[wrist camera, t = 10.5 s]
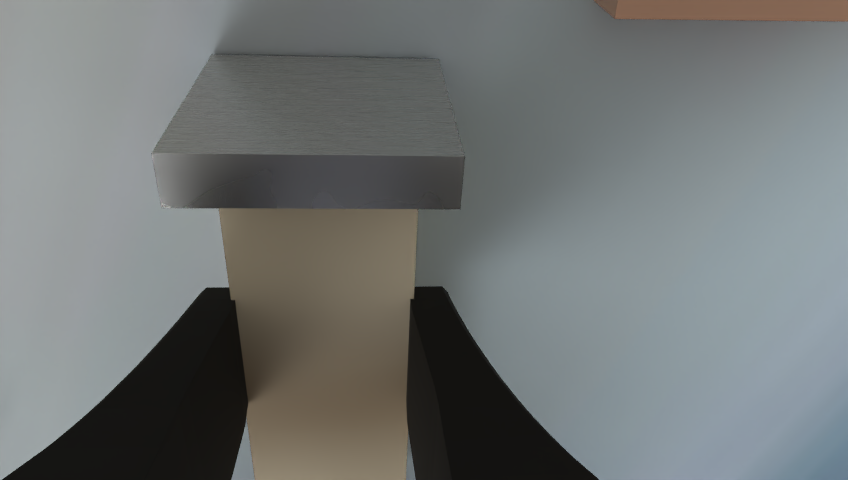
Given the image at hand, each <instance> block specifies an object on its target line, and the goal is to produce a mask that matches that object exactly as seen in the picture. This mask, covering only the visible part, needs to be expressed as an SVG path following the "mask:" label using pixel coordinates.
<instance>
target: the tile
mask: <svg viewBox="0 0 848 480" xmlns="http://www.w3.org/2000/svg"><path fill="white" fill-rule="evenodd" d="M594 1H595V2H596V3H597V4H598V5H599V6H600V7H602V8H603V9H604V10H605V11H606V12H607V13H609V14H610V15H611V16H612V17H613V18H614V19H667V20H761V21H848V0H594Z"/></svg>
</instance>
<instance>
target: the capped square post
mask: <svg viewBox="0 0 848 480" xmlns="http://www.w3.org/2000/svg"><path fill="white" fill-rule="evenodd" d="M152 159H153V164H154V170H155V175H156V180H157V186H158V191H159V197H160V202H161V208H219V214H220V222H221V229H222V237H223V244H224V252H225V259H226V267H227V274H228V282H229V289H230V297H231V300H235V304H236V312H237V319H238V327H239V335H240V342H241V350H242V358H243V366H244V373H245V381H246V389H247V397H248V409H247V416H246V417H247V424H248V432H249V439H250V447H251V454H252V462H253V469H254V477H255V480H406V464H407V442H408V424H407V408H406V392H407V368H408V344H409V320H410V299H414V288H415V266H416V244H417V222H418V209H460V208H461V196H462V184H463V172H464V160H465V155H464V152H463V148H462V144H461V141H460V137H459V133H458V129H457V126H456V122H455V118H454V114H453V111H452V107H451V103H450V99H449V96H448V92H447V88H446V85H445V81H444V77H443V73H442V70H441V66H440V62H439V59H401V58H355V57H310V56H264V55H218V54H212V55H211V56H210V58H209V60H208V61H207V63H206V65H205V66H204V68H203V69H202V71H201V73H200V74H199V76H198V78H197V79H196V81H195V83H194V84H193V86H192V88H191V89H190V91H189V92H188V94H187V96H186V97H185V99H184V101H183V102H182V104H181V106H180V107H179V109H178V111H177V112H176V114H175V115H174V117H173V119H172V120H171V122H170V124H169V125H168V127H167V129H166V130H165V132H164V134H163V135H162V137H161V138H160V140H159V142H158V143H157V145H156V147H155V148H154V150H153V152H152Z"/></svg>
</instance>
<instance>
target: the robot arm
mask: <svg viewBox="0 0 848 480" xmlns="http://www.w3.org/2000/svg"><path fill="white" fill-rule="evenodd" d="M406 408H407V424H408V431H409V437H410V444H411V451H412V457H413V464H414V470H415V477H416V480H599V479H598V478H597V477H595V476H594V475H593V474H592V473H591V472H590V471H588V470H587V469H586V468H585V467H584V466H583V465H581V464H580V463H579V462H578V461H577V460H576V459H575V458H573V457H572V456H571V455H570V454H569V453H568V452H567V451H566V450H565V449H564V448H563V447H562V446H561V445H560V444H559V443H558V442H557V441H556V440H555V439H554V438H553V437H552V436H551V435H550V434H549V433H548V432H547V431H546V430H545V429H544V428H543V427H542V426H541V425H540V424H539V423H538V422H537V420H536V419H535V418H534V417H533V416H532V415H531V414H530V413H529V412H528V411H527V409H526V408H525V407H524V406H523V405H522V404H521V402H520V401H519V400H518V399H517V398H516V396H515V395H514V394H513V393H512V391H511V390H510V389H509V388H508V386H507V385H506V384H505V383H504V381H503V380H502V379H501V377H500V376H499V375H498V373H497V372H496V371H495V369H494V368H493V367H492V365H491V364H490V362H489V361H488V359H487V358H486V357H485V355H484V354H483V352H482V351H481V349H480V348H479V346H478V345H477V343H476V342H475V340H474V339H473V337H472V336H471V334H470V332H469V331H468V329H467V328H466V326H465V324H464V323H463V321H462V319H461V317H460V316H459V314H458V312H457V310H456V308H455V306H454V304H453V302H452V300H451V298H450V296H449V294H448V292H447V291H446V290H445V289H444V288H443V287H442V286H440V287H415V288H414V299H410V320H409V344H408V368H407V392H406ZM247 409H248V397H247V389H246V381H245V373H244V366H243V358H242V350H241V342H240V335H239V327H238V319H237V312H236V304H235V300H231V297H230V289H229V288H206V289H205V290H204V291H202V292H201V293H200V295H199V296H198V297H197V298H196V299H195V301H194V302H193V303H192V304H191V305H190V307H189V308H188V309H187V310H186V311H185V313H184V314H183V315H182V316H181V317H180V318H179V320H178V321H177V322H176V323H175V324H174V325H173V327H172V328H171V329H170V330H169V331H168V332H167V334H166V335H165V336H164V337H163V338H162V339H161V340H160V341H159V342H158V344H157V345H156V346H155V347H154V348H153V349H152V350H151V351H150V352H149V353H148V354H147V356H146V357H145V358H144V359H143V360H142V361H141V362H140V363H139V364H138V365H137V366H136V367H135V368H134V369H133V370H132V371H131V372H130V373H129V374H128V375H127V376H126V377H125V378H124V379H123V380H122V381H121V382H120V383H119V384H118V385H117V386H116V387H115V388H114V389H113V390H112V391H111V392H110V393H109V394H108V395H107V396H106V397H105V398H104V399H103V400H102V401H101V402H100V403H99V404H97V405H96V406H95V407H94V408H93V409H92V410H91V411H90V412H89V413H87V414H86V415H85V416H84V417H83V418H82V419H81V420H80V421H78V422H77V423H76V424H75V425H74V426H73V427H71V428H70V429H69V430H68V431H66V432H65V433H64V434H63V435H62V436H60V437H59V438H58V439H57V440H56V441H54V442H53V443H52V444H51V445H49V446H48V447H47V448H45V449H44V450H43V451H41V452H40V453H38V454H37V455H36V456H34V457H33V458H32V459H30V460H29V461H27V462H26V463H25V464H23V465H22V466H20V467H19V468H18V469H16V470H15V471H13V472H12V473H11V474H9V475H8V476H6V477H5V478H4V479H2V480H231V478H232V475H233V471H234V467H235V463H236V459H237V455H238V451H239V448H240V444H241V440H242V436H243V432H244V428H245V423H246V416H247Z"/></svg>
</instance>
